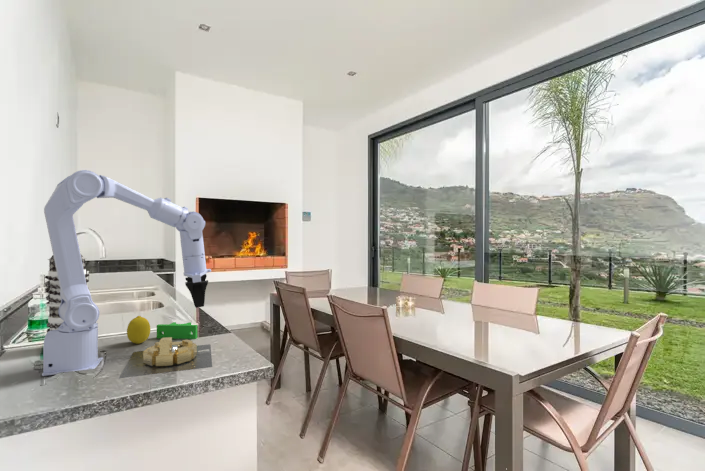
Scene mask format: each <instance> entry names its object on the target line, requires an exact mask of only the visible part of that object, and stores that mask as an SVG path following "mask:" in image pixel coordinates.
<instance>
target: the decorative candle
mask: <svg viewBox="0 0 705 471" xmlns="http://www.w3.org/2000/svg"><path fill="white" fill-rule="evenodd" d="M81 259H82V264H83V269H84V274H85V279H86V284H87V283H89V282H90V280H89V279H87V278H88V277H89V276H90V274H89V273H87V269H86V259H87V258H85V257H84V256H83V255H82V254H81ZM47 260H48V261H49V265H48V269H49V270H48V271H47V272H48V274H47V275H45V276H44V279H46V280H48V281H46V282H45V283H44V286H46V288H45V293H48V294H47V296H45V298H46V299H45V300H46V301H47V302H46V305H47V307H49V308H48V309H49V310H48V312H49V314H48V317H47V321H48V323H46V327H48V329H46V333H47V332H48V331H51V330H58V327H59V326H60V325H61V324H62V322H64V320H62V319H61V318H60V316H59V313H58V309H59V306H60V304H61V297H60V284H59V280H58V275H57V270H56V265H55V261H54V256H53V254H52V255H51V257H49V259H48V258H47Z"/></svg>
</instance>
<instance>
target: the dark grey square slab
mask: <svg viewBox="0 0 705 471" xmlns="http://www.w3.org/2000/svg"><path fill="white" fill-rule="evenodd" d="M177 348H178V346H176V345H172V352H175V349H177ZM144 351H145V350H138V351H133V353H132V355H131V356H130V358H129V360H128V361H127V362H126V365H125V367H124V368H123V370H122V372H121V374H120V375H119V377H118V379H122V378H124V379H125V378H131V377H132V378H133V377H139V376H140V377H141V376H149V375H157V374H166V373H175V372H183V371H189V370H191V371H192V370H199V369H200V370H201V369H206V368H207V369H208V368H212V367H213V362H212V361H213V359H212V348H211V344H210V343H209V344H200V345H199V344H198V345H197V355H196V356H195V358H194V359H192V360H190V361H187V362H184V363H180V364H175V363H174V364H173V365H169V366H156V365H153V366H151V365H148V364H145V363H143V352H144Z"/></svg>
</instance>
